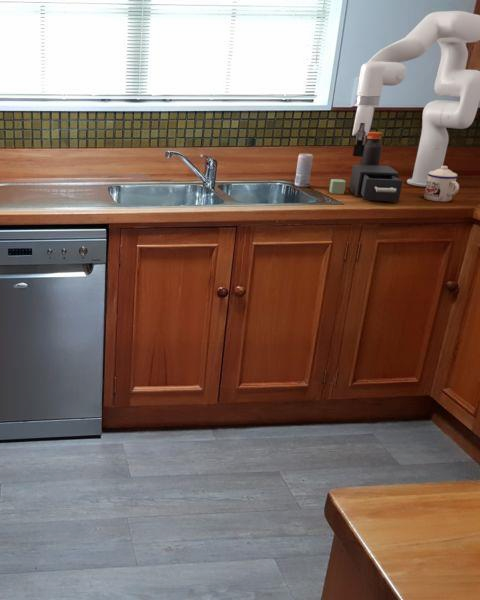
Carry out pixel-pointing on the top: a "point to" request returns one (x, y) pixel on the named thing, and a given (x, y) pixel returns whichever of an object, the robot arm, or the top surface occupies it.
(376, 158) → the bottle
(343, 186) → the block
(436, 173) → the teacup with lid
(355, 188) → the dark drawer box
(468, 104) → the robot arm
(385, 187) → the black drawer unit
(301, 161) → the energy drink
